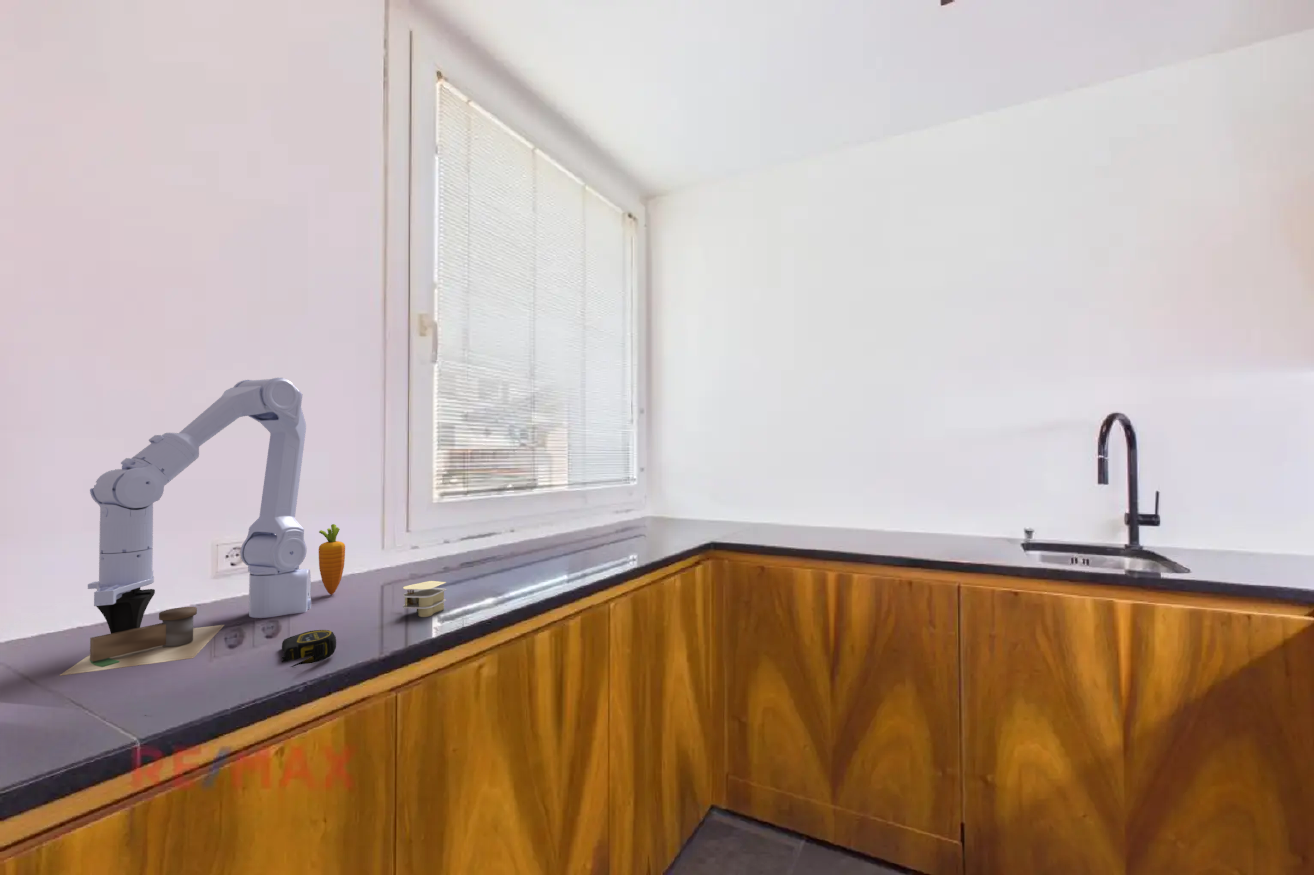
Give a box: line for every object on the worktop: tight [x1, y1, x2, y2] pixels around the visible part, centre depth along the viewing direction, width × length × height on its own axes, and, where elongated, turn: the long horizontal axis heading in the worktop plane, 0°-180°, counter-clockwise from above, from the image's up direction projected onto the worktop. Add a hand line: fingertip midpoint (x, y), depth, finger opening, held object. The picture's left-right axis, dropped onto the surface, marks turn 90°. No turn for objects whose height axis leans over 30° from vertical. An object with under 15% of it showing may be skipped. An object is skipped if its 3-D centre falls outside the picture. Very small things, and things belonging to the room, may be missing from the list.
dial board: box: [58, 624, 225, 677], centre depth 84 cm, size 14×17×2 cm
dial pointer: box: [89, 606, 198, 661], centre depth 82 cm, size 12×4×5 cm, turn 148°
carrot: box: [318, 523, 346, 596], centre depth 120 cm, size 5×5×15 cm
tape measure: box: [281, 629, 337, 668], centre depth 82 cm, size 7×7×4 cm
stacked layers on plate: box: [402, 580, 447, 618], centre depth 106 cm, size 10×9×6 cm
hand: (125, 643), depth 82 cm, fingers closed
